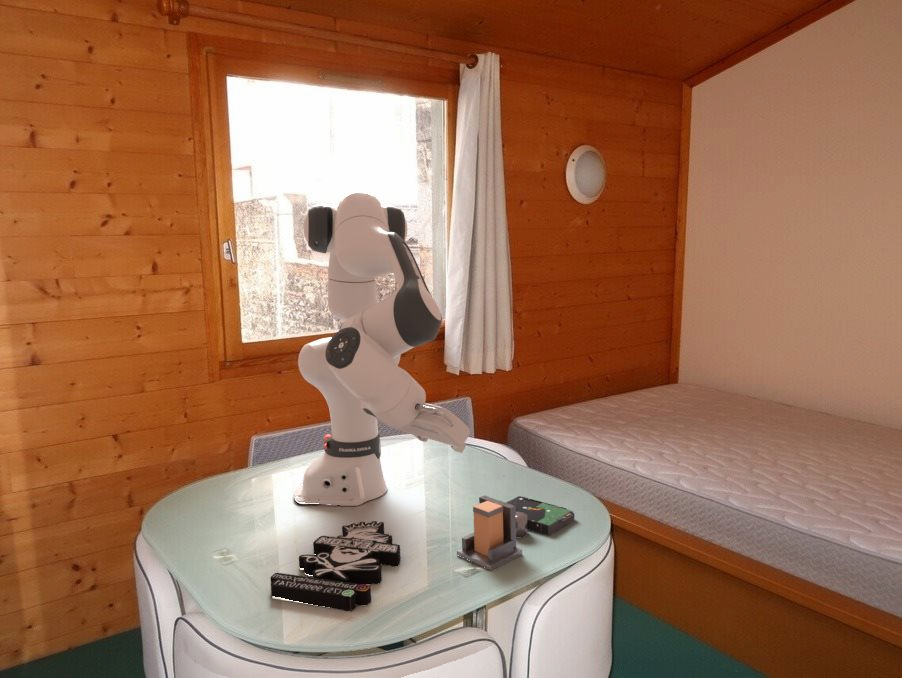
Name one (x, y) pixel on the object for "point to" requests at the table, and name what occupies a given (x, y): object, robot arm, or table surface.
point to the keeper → (500, 551)
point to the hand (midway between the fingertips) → (443, 443)
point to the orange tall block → (487, 526)
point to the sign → (340, 568)
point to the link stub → (521, 524)
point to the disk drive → (542, 515)
